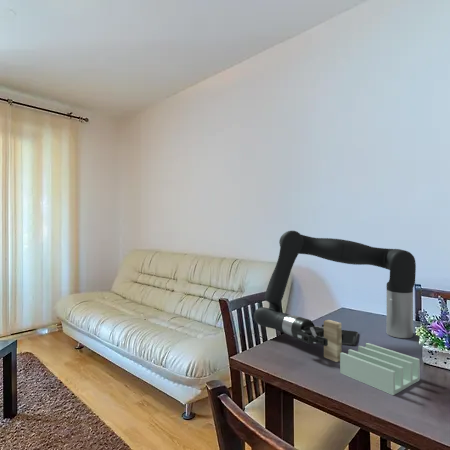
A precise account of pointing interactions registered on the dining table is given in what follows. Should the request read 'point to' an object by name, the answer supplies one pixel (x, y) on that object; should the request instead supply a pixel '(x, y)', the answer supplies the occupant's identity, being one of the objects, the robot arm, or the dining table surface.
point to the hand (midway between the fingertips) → (335, 339)
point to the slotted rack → (380, 368)
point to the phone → (349, 337)
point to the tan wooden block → (333, 340)
